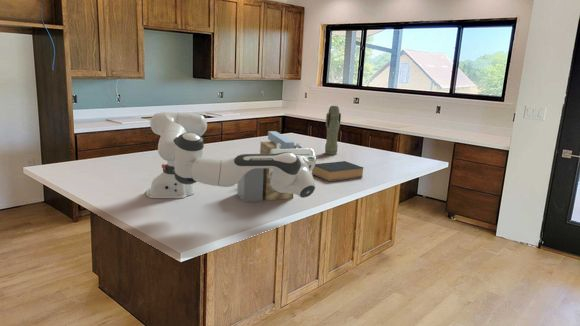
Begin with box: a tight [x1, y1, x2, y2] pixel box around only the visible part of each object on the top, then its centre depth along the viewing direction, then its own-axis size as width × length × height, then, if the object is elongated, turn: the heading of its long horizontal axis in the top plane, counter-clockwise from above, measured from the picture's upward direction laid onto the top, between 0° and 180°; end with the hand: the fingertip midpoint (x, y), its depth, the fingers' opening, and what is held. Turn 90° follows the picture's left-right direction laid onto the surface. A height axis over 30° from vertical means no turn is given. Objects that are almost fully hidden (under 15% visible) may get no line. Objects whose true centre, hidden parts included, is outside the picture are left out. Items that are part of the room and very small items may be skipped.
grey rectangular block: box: [236, 168, 264, 203], centre depth 208 cm, size 9×13×16 cm
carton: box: [259, 140, 297, 201], centre depth 212 cm, size 14×12×26 cm
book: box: [311, 160, 364, 182], centre depth 257 cm, size 17×25×7 cm
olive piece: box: [324, 105, 342, 156], centre depth 316 cm, size 9×12×35 cm
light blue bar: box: [267, 130, 295, 149], centre depth 206 cm, size 4×26×4 cm, turn 20°
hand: (287, 144), depth 196 cm, fingers open, 8 cm apart
